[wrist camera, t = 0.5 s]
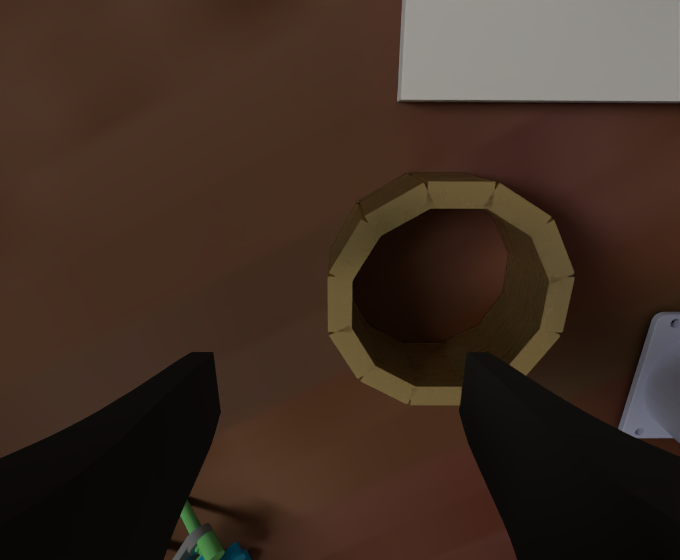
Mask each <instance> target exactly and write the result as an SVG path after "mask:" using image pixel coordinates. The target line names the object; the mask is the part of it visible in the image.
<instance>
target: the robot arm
mask: <svg viewBox="0 0 680 560" xmlns="http://www.w3.org/2000/svg"><path fill="white" fill-rule="evenodd" d="M674 319H675V320H674ZM673 320H674V322H673V323H672V324H671V322H672V321H673ZM220 413H221V410H220V402H219V394H218V386H217V378H216V370H215V362H214V354H213V352H191V353H189V354H188V355H186V356H184V357H183V358H181V359H179V360H178V361H176V362H175V363H173V364H172V365H170V366H169V367H167V368H166V369H164V370H163V371H161V372H160V373H158V374H157V375H155V376H154V377H152V378H151V379H149V380H148V381H146V382H145V383H143V384H142V385H140V386H139V387H137V388H135V389H134V390H132V391H131V392H129V393H127V394H126V395H124V396H122V397H121V398H119V399H117V400H116V401H114V402H112V403H111V404H109V405H108V406H106V407H104V408H103V409H101V410H99V411H98V412H96V413H94V414H92V415H90V416H89V417H87V418H85V419H83V420H81V421H79V422H77V423H75V424H73V425H72V426H70V427H68V428H66V429H64V430H62V431H60V432H58V433H56V434H54V435H52V436H50V437H47V438H45V439H43V440H41V441H39V442H36V443H34V444H32V445H29V446H27V447H25V448H23V449H20V450H18V451H16V452H14V453H11V454H9V455H7V456H4V457H2V458H0V560H164V557H165V554H166V551H167V548H168V545H169V542H170V539H171V537H172V534H173V532H174V529H175V527H176V524H177V522H178V519H179V517H180V515H181V513H182V510H183V508H184V506H185V504H186V501H187V499H188V497H189V495H190V492H191V490H192V488H193V486H194V483H195V481H196V479H197V476H198V474H199V472H200V470H201V467H202V465H203V463H204V460H205V458H206V456H207V454H208V451H209V449H210V446H211V444H212V441H213V437H214V434H215V431H216V427H217V424H218V420H219V416H220ZM459 413H460V417H461V420H462V424H463V428H464V431H465V434H466V437H467V441H468V444H469V446H470V449H471V451H472V453H473V455H474V458H475V460H476V462H477V464H478V467H479V469H480V471H481V473H482V476H483V478H484V480H485V482H486V485H487V487H488V489H489V491H490V493H491V496H492V498H493V500H494V502H495V504H496V507H497V509H498V511H499V513H500V516H501V518H502V520H503V522H504V525H505V527H506V530H507V532H508V535H509V537H510V540H511V542H512V545H513V548H514V551H515V554H516V557H517V560H680V457H679V456H677V455H674V454H672V453H669V452H667V451H665V450H662V449H660V448H658V447H655V446H653V445H651V444H648V443H646V442H644V441H642V440H640V439H637V438H674V439H676V440H677V441H678V442H679V443H680V312H660V313H658V314H656V315H655V316H654V317H653V319H652V321H651V324H650V327H649V330H648V334H647V337H646V340H645V343H644V346H643V350H642V353H641V356H640V359H639V363H638V366H637V369H636V372H635V376H634V379H633V382H632V385H631V389H630V392H629V395H628V398H627V402H626V405H625V408H624V411H623V415H622V418H621V421H620V424H619V427H618V429H617V428H615V427H613V426H611V425H609V424H607V423H605V422H603V421H601V420H599V419H597V418H595V417H593V416H592V415H590V414H588V413H586V412H584V411H583V410H581V409H579V408H577V407H576V406H574V405H572V404H570V403H569V402H567V401H565V400H564V399H562V398H560V397H559V396H557V395H555V394H554V393H552V392H551V391H549V390H547V389H546V388H544V387H543V386H541V385H539V384H538V383H536V382H535V381H533V380H532V379H530V378H529V377H527V376H526V375H524V374H523V373H521V372H520V371H518V370H517V369H515V368H513V367H512V366H510V365H509V364H507V363H506V362H504V361H503V360H501V359H499V358H498V357H496V356H494V355H493V354H491V353H489V352H467V354H466V362H465V369H464V377H463V385H462V393H461V400H460V408H459Z"/></svg>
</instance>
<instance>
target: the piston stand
mask: <svg viewBox="0 0 680 560" xmlns="http://www.w3.org/2000/svg"><path fill="white" fill-rule="evenodd" d="M397 102H539V103H680V0H402V16H401V36H400V56H399V76H398V96H397Z"/></svg>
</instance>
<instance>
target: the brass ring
mask: <svg viewBox="0 0 680 560" xmlns="http://www.w3.org/2000/svg"><path fill="white" fill-rule="evenodd" d="M359 201H360V204H361V205H360V204H358V203H356V204H355V206H354V208H353V209H352V211H351V213H350V215H349V216H348V218H347V220H346V221H345V223H344V225H343V226H342V228H341V230H340V231H339V233H338V235H337V236H336V238H335V240H334V241H333V243H332V245H331V248H330V252H329V266H328V332H329V336H330V337H331V339H332V341H333V342H334V344H335V345H336V347H337V348H338V350H339V351H340V353H341V354H342V356H343V357H344V359H345V360H346V362H347V364H348V365H349V367H350V368H351V370H352V371H353V373H354V374H355V376H356V377H357V379H358V378H360V381H361V382H363V383H365V384H367V385H369V386H371V387H373V388H375V389H377V390H379V391H381V392H383V393H385V394H387V395H389V396H391V397H393V398H395V399H397V400H399V401H401V402H403V403H405V404H407V403H408V402H410V405H460V400H461V393H462V385H463V377H464V369H465V362H466V354H467V352H489V353H491V354H493V355H494V356H496V357H498V358H499V359H501V360H503V361H504V362H506V363H507V364H509V365H510V366H512V367H513V368H515V369H517V370H518V371H520V372H521V373H523V374H524V375H527V374H528V373H529V372H530V371H531V369H532V368H533V367H534V366H535V365H536V364H537V363H538V361H539V360H540V359H541V358H542V357H543V356H544V355H545V353H546V352H547V351H548V350H549V349H550V348H551V347H552V345H553V344H554V343H555V342H556V341H557V340H558V338H559V337H560V335H559V334H558V333H557V332H563V328H564V324H565V319H566V315H567V311H568V306H569V302H570V297H571V293H572V288H573V284H574V279H575V277H574V276H572V274H574V270H573V267H572V265H571V262H570V260H569V257H568V254H567V252H566V249H565V247H564V244H563V241H562V239H561V236H560V234H559V231H558V228H557V226H556V223H555V221H554V220H553V219H551V216H550V215H548V214H547V213H545V212H544V211H542V210H541V209H539V208H538V207H536V206H534V205H533V204H531V203H530V202H528V201H527V200H525V199H524V198H522V197H521V196H519V195H518V194H516V193H515V192H513V191H511V190H510V189H508V188H507V187H505V186H504V185H502V184H501V183H498V182H495V181H491V180H488V179H484V178H481V177H477V176H474V175H470V174H467V173H463V172H410V175H408V174H407V173H406V174H404V175H402V176H400V177H399V178H397V179H395V180H393V181H392V182H390V183H388V184H386V185H385V186H383V187H381V188H379V189H378V190H376V191H374V192H372V193H371V194H369V195H367V196H365V197H364V198H362V199H360V200H359ZM429 209H481V210H483V211H485V212H486V213H488V214H489V215H491V216H492V217H493V218H494V220H495V223H496V225H497V227H498V230H499V232H500V234H501V236H502V239H503V241H504V243H505V246H506V248H507V250H508V252H509V257H508V263H507V269H506V276H505V282H504V288H503V293H502V295H501V296H500V297H499V299H498V300H497V301H496V302H495V304H494V305H493V306H492V308H491V309H490V310H489V311H488V313H487V314H486V315H485V317H484V318H483V319H482V320H481V322H480V323H479V324H478V325H477V326H475V327H473V328H471V329H469V330H467V331H465V332H463V333H461V334H458V335H456V336H454V337H452V338H450V339H448V340H446V341H444V342H442V343H402V342H400V341H398V340H396V339H394V338H392V337H390V336H388V335H387V334H385V333H383V332H381V331H379V330H377V329H375V328H373V327H372V326H370V325H368V323H367V321H366V320H365V318H364V316H363V315H362V313H361V312H360V310H359V308H358V307H357V305H356V303H355V302H354V300H353V298H352V281H353V279H354V278H355V276H356V274H357V273H358V271H359V270H360V268H361V266H362V265H363V263H364V262H365V260H366V259H367V257H368V255H369V254H370V252H371V251H372V249H373V247H374V246H375V244H376V243H377V241H378V240H379V238H380V236H382V235H383V234H385V233H387V232H389V231H391V230H393V229H394V228H396V227H398V226H400V225H402V224H404V223H405V222H407V221H409V220H411V219H413V218H414V217H416V216H418V215H420V214H422V213H424V212H425V211H427V210H429Z"/></svg>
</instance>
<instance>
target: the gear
mask: <svg viewBox="0 0 680 560" xmlns="http://www.w3.org/2000/svg"><path fill="white" fill-rule="evenodd" d="M180 516H181V518H182V520H183V522H184V524H185V526H186V528H187V530H188V532H189V535H188V537H187V538H186V539H185V541H184V543H183V544H182V546H181V547H180V549H179V550H178V552H177V553H176V555H175V556H174V558H173V559H172V560H252V559H251V557H250V555H249V553H248V552H247V550H242V549H241V547H240V545H239V543H238V542H235V543H233V544H232V545H231V546H230V547H228V548H227V550H226V551H224V549H223V547H222V545H221V544H220V542H219V540H218V538H217V536H216V534H215V532H214V531H213V529H212V527H211V525H210V524H209V523H207V524H203V525H201V524H200V522H199V521H198V519H197V517H196V515H195V513H194V511H193V509H192V507H191V505H190V503H189V501H188V499H187V501H186V504H185V506H184V508H183V510H182V513H181V515H180ZM199 554H200V556H199V557H198V555H199ZM197 557H198V558H197ZM196 558H197V559H196Z"/></svg>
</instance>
